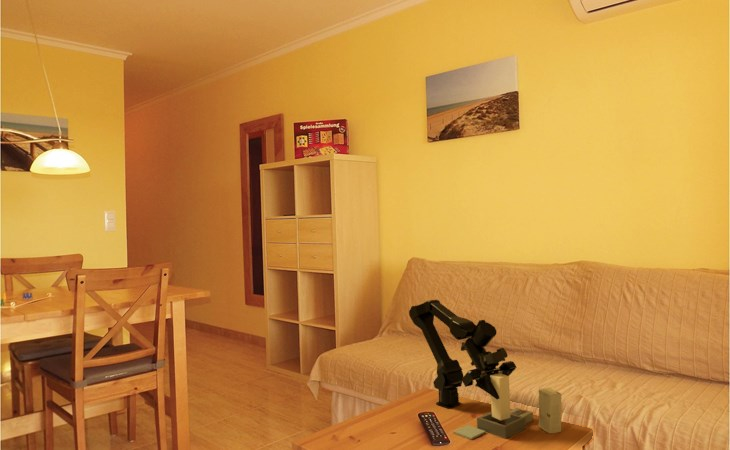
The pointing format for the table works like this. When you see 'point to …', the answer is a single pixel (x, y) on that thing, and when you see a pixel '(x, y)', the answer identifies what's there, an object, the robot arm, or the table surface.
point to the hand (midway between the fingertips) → (503, 397)
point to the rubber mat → (469, 432)
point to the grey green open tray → (512, 424)
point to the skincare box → (550, 410)
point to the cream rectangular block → (501, 397)
